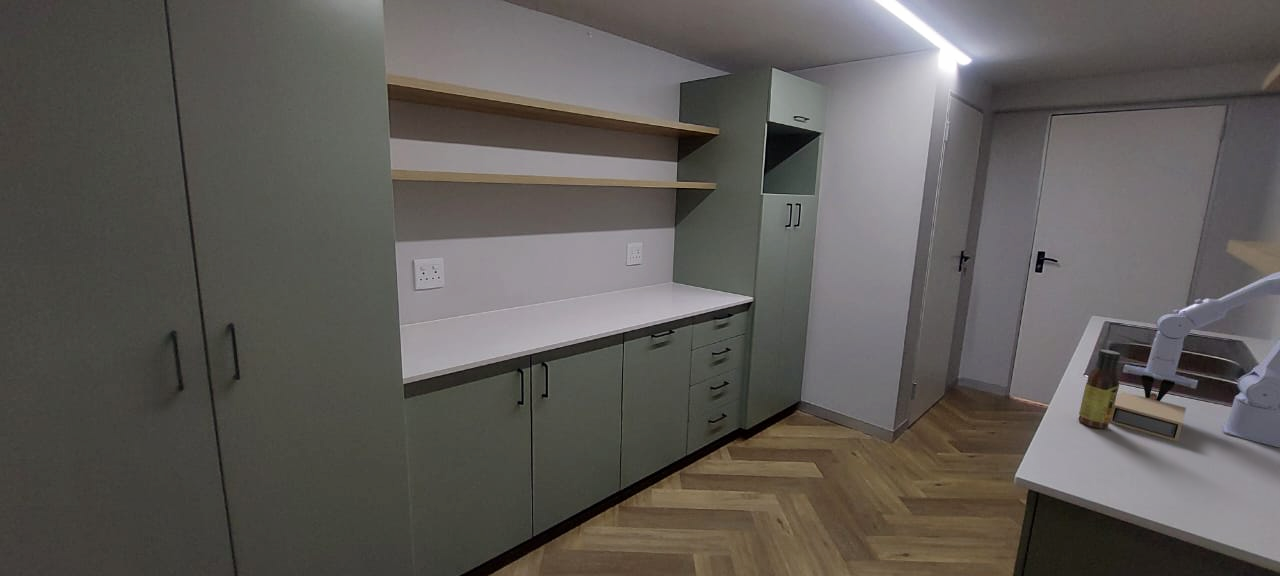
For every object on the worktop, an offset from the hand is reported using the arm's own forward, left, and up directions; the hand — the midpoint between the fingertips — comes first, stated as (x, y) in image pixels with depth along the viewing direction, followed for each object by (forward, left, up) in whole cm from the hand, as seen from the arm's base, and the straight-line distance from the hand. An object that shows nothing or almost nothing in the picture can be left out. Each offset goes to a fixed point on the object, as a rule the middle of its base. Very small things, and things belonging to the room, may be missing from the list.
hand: (1151, 403), depth 146 cm
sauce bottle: (+9, +24, -3) cm, 26 cm away
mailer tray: (0, +8, -2) cm, 9 cm away
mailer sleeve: (0, +11, -3) cm, 11 cm away
